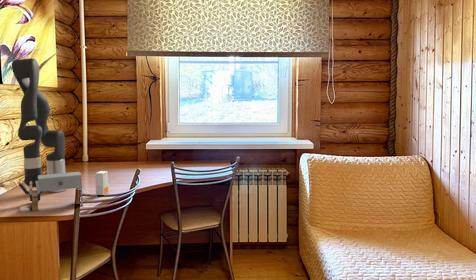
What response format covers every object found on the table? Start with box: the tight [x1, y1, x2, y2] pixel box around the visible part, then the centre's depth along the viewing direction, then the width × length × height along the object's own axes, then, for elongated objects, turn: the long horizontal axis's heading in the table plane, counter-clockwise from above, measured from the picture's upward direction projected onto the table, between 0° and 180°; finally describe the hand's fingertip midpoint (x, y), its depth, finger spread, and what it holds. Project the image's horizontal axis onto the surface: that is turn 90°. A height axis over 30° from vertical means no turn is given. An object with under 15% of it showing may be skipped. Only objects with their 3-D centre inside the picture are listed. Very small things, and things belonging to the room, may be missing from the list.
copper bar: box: [31, 189, 39, 212], centre depth 202 cm, size 18×2×6 cm, turn 26°
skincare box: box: [94, 170, 109, 196], centre depth 224 cm, size 6×4×12 cm
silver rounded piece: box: [19, 204, 33, 213], centre depth 196 cm, size 5×5×2 cm
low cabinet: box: [38, 171, 84, 207], centre depth 201 cm, size 10×18×15 cm, turn 115°
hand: (35, 201), depth 208 cm, fingers closed on copper bar, 2 cm apart
